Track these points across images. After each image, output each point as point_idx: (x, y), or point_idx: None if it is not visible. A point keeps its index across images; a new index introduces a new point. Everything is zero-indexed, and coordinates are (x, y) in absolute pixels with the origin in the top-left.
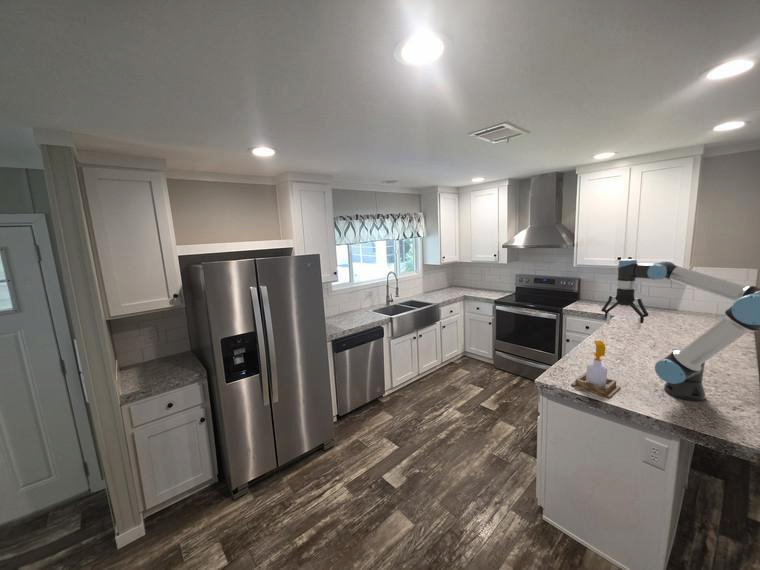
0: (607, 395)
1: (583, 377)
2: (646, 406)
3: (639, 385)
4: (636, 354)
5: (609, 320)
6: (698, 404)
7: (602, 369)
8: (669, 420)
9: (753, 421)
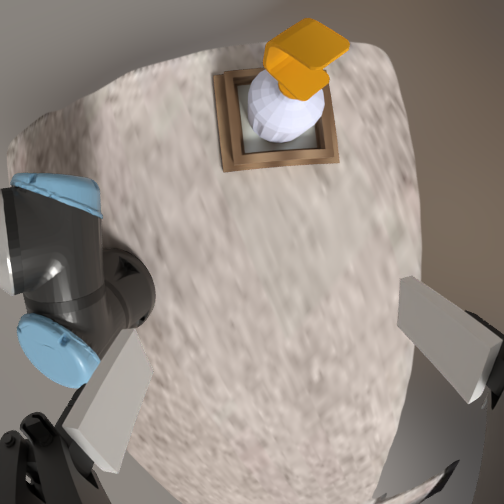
0: (219, 76)
1: None
2: (134, 119)
3: (199, 246)
4: (296, 433)
5: (419, 333)
6: None
7: (256, 77)
8: (86, 102)
9: None
